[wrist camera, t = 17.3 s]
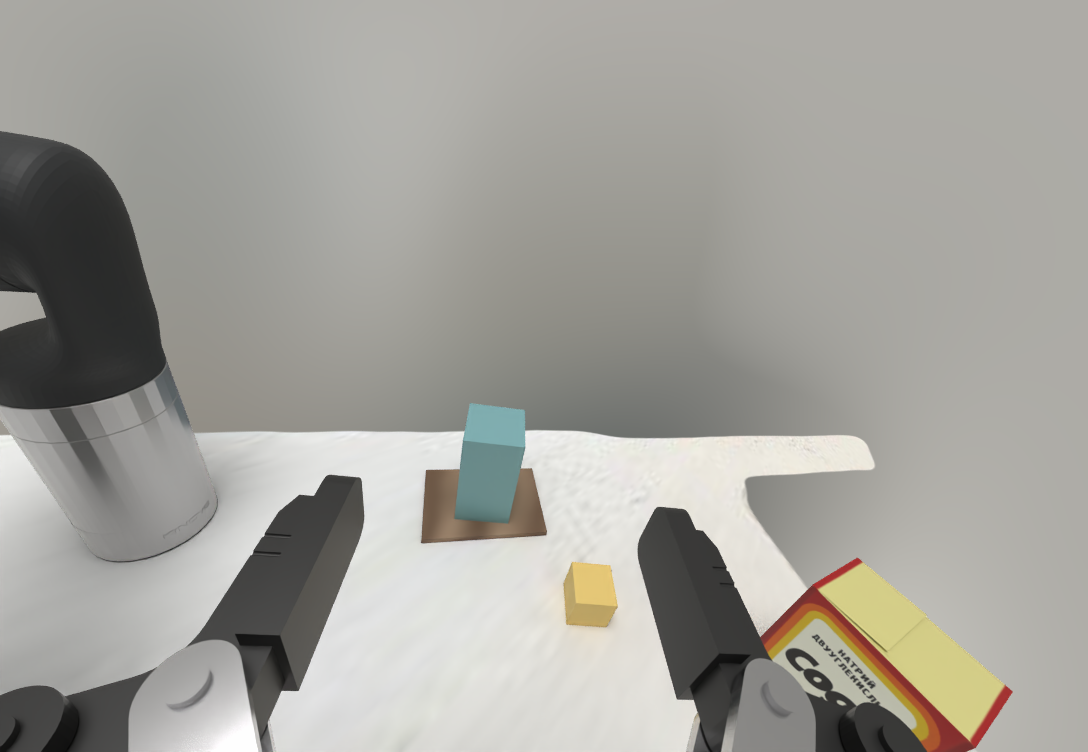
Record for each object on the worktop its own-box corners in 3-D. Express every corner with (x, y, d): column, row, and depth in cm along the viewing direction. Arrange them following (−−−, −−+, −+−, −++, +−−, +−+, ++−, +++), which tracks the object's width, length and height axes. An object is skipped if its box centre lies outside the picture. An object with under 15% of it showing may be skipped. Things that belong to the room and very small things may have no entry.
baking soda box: (858, 769, 32) (1017, 689, 24) (816, 817, 29) (981, 745, 21) (763, 648, 39) (860, 554, 30) (720, 677, 36) (815, 582, 27)
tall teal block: (454, 519, 44) (462, 440, 38) (461, 478, 49) (470, 403, 43) (508, 523, 45) (525, 447, 38) (509, 482, 50) (524, 410, 44)
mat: (421, 543, 41) (421, 539, 41) (425, 473, 49) (426, 470, 49) (545, 535, 45) (546, 531, 45) (531, 471, 53) (531, 468, 53)
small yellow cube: (566, 624, 37) (575, 603, 35) (563, 584, 40) (572, 562, 38) (605, 627, 38) (617, 606, 36) (599, 587, 41) (610, 565, 39)
